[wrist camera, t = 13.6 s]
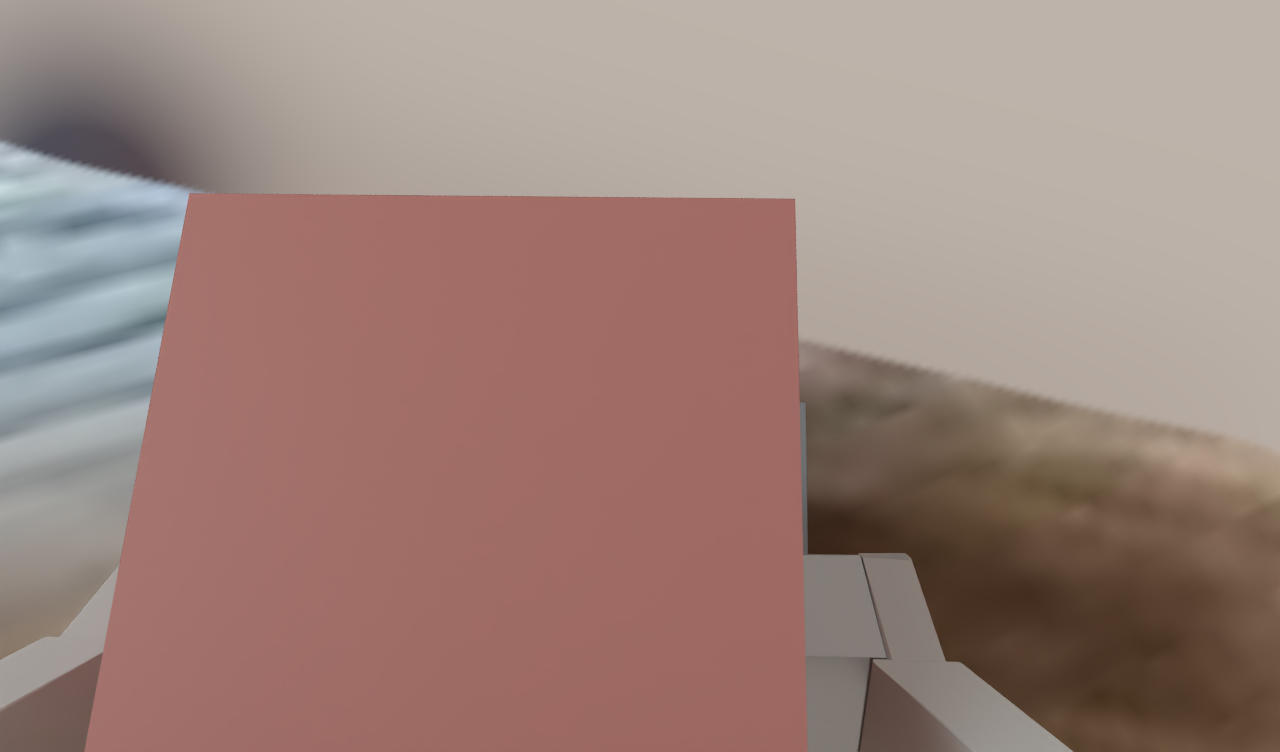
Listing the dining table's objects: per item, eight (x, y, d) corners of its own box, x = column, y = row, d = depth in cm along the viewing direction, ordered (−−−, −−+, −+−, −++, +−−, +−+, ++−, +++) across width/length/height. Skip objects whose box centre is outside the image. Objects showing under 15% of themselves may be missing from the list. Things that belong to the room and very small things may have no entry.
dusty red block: (392, 764, 14) (63, 858, 7) (425, 432, 16) (189, 192, 8) (735, 776, 14) (811, 885, 6) (735, 438, 15) (795, 199, 8)
